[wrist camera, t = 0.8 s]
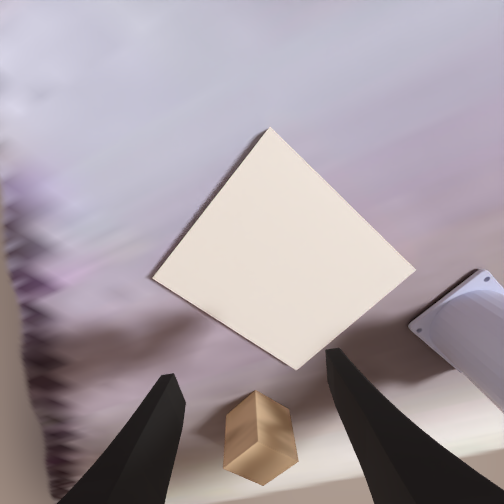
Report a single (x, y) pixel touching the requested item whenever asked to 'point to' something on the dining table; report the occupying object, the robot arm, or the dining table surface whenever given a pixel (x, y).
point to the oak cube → (259, 439)
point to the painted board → (282, 257)
